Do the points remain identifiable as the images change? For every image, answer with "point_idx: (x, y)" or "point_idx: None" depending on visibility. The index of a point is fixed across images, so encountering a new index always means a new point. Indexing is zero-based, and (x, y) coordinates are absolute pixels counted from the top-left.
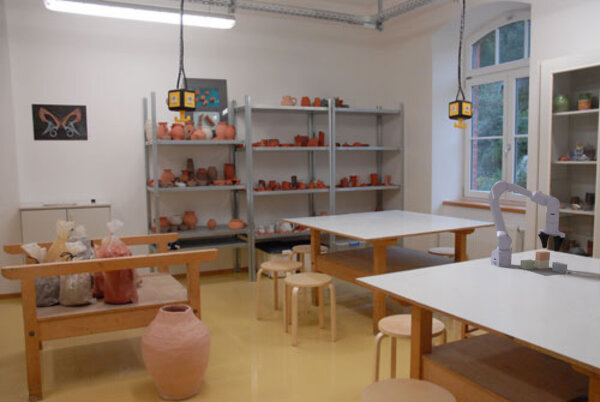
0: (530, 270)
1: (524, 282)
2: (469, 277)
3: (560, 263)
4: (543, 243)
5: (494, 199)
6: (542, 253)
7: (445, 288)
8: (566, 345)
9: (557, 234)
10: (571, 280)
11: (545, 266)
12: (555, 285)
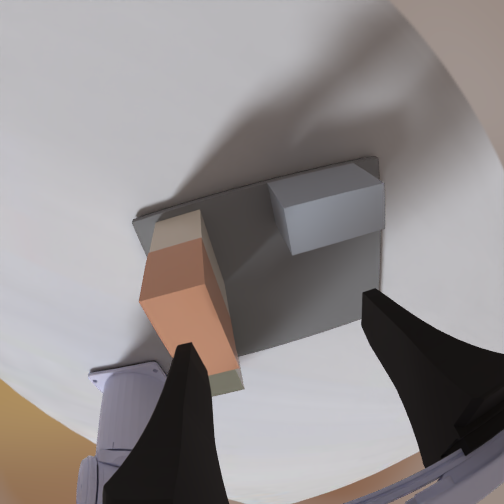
0: (264, 338)
1: None
2: (298, 456)
3: (345, 217)
4: (209, 419)
5: None
6: (232, 347)
7: (357, 464)
8: None
9: (463, 473)
10: (446, 222)
11: (210, 244)
12: (455, 311)
